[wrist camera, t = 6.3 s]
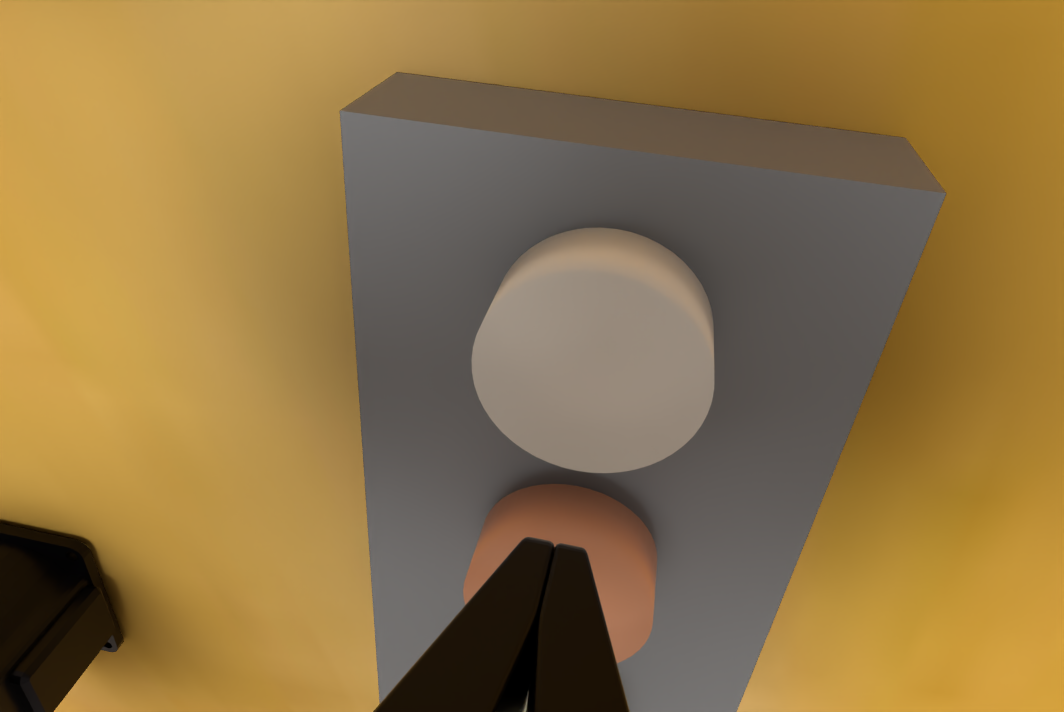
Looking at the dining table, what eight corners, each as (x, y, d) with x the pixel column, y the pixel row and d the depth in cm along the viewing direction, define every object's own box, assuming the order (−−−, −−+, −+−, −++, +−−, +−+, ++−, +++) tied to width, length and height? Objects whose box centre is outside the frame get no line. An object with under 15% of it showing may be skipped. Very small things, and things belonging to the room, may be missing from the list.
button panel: (410, 628, 28) (379, 707, 25) (396, 72, 17) (339, 110, 14) (707, 693, 27) (707, 783, 24) (905, 137, 16) (946, 193, 13)
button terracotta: (479, 590, 20) (461, 647, 19) (485, 468, 18) (465, 523, 16) (641, 624, 20) (636, 686, 18) (672, 504, 17) (669, 564, 16)
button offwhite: (489, 397, 17) (468, 450, 15) (499, 211, 14) (475, 252, 13) (689, 433, 16) (688, 491, 15) (736, 247, 14) (740, 293, 12)
